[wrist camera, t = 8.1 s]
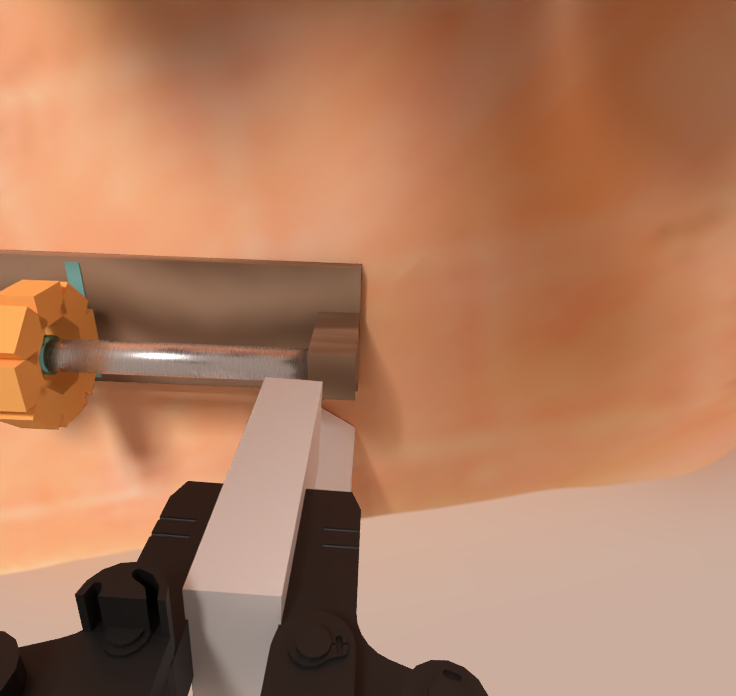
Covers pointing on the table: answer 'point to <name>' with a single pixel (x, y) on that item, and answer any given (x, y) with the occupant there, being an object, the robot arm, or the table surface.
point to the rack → (214, 306)
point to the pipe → (171, 359)
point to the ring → (22, 348)
